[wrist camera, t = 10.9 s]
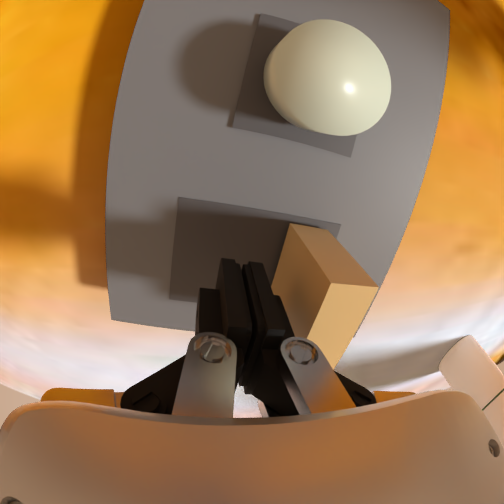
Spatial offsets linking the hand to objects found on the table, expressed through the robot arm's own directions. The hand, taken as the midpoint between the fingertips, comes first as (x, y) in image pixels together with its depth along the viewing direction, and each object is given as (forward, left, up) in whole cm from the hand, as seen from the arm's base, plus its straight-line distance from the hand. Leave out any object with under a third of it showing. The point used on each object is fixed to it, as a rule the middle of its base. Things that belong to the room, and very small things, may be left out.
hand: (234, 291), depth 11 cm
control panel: (-7, +2, -6) cm, 9 cm away
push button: (-9, +2, -1) cm, 9 cm away
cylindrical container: (+13, +36, -6) cm, 38 cm away
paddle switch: (0, +3, -3) cm, 4 cm away
